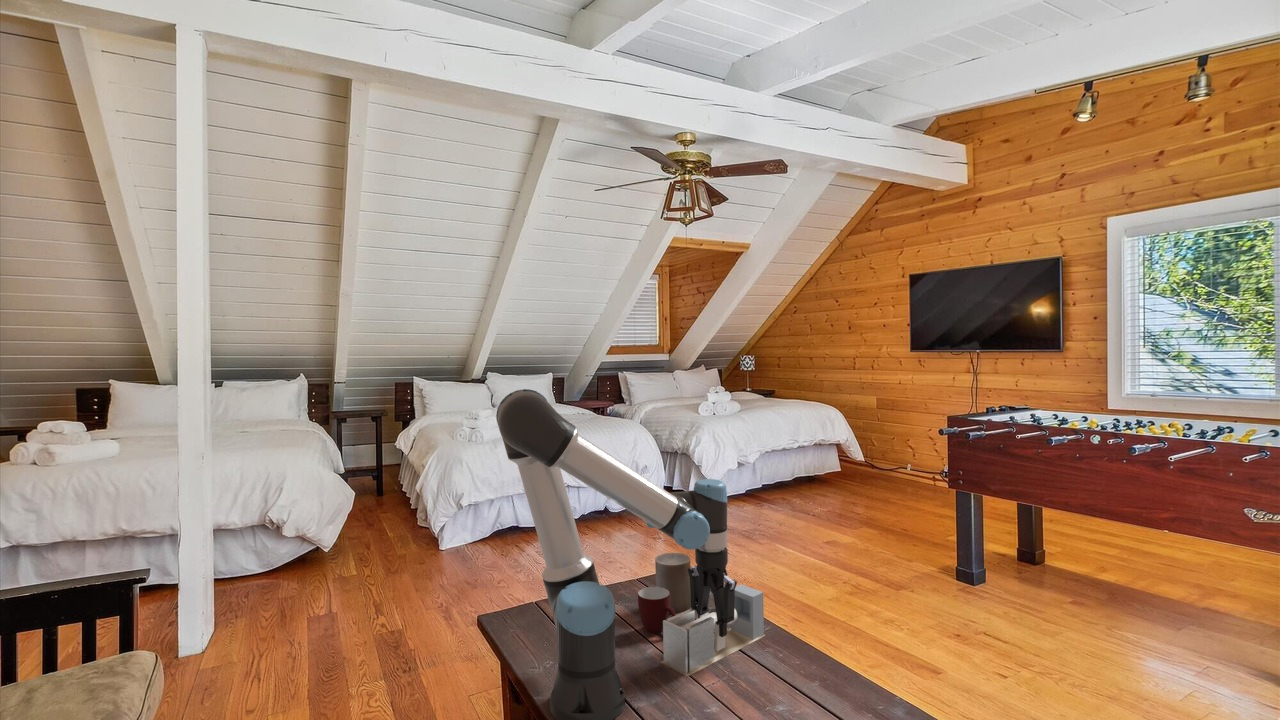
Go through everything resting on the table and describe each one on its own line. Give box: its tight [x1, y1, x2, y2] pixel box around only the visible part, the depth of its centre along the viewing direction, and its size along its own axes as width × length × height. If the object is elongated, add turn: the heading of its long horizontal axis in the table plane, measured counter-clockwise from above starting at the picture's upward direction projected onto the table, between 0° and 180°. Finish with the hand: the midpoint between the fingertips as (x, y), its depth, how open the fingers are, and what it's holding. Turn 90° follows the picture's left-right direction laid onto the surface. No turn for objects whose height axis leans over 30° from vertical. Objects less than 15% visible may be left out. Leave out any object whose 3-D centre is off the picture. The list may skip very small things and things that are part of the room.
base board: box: [660, 627, 766, 677], centre depth 154 cm, size 28×8×1 cm, turn 131°
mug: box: [637, 586, 677, 634], centre depth 164 cm, size 11×8×10 cm
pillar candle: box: [654, 552, 692, 616], centre depth 178 cm, size 10×10×15 cm
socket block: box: [730, 583, 765, 640], centre depth 162 cm, size 4×7×10 cm, turn 41°
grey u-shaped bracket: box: [662, 608, 715, 676], centre depth 148 cm, size 9×7×10 cm
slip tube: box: [681, 607, 738, 633], centre depth 152 cm, size 18×5×5 cm, turn 131°
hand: (712, 644), depth 154 cm, fingers closed on slip tube, 4 cm apart
